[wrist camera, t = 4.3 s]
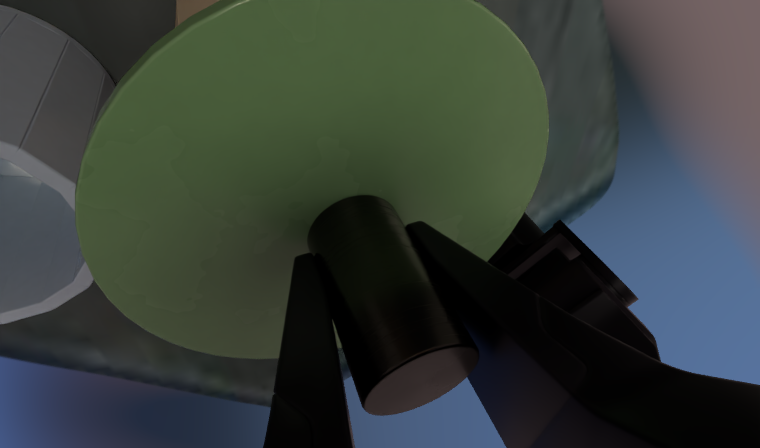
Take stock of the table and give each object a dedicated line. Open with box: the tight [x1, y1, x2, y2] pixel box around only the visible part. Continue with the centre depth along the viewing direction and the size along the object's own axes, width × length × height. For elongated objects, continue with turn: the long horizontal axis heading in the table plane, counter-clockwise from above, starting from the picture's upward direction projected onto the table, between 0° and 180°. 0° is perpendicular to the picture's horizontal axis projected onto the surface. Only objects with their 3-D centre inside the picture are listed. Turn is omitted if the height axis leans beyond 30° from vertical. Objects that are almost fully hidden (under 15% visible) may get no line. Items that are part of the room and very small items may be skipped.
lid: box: [75, 0, 549, 416], centre depth 9 cm, size 11×11×5 cm
